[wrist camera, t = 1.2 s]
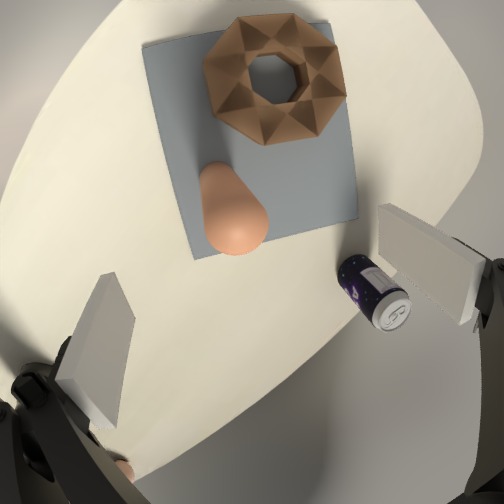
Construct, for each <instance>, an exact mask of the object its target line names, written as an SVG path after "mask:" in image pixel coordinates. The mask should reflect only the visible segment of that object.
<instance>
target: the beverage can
mask: <svg viewBox="0 0 504 504" xmlns="http://www.w3.org/2000/svg"><path fill="white" fill-rule="evenodd" d="M337 278H338V282H339V284H340V286H341V287H342V288H343V289H344V290H345V292H346V293H347V294H348V295H349V296H350V298H351V299H352V300H353V301H354V303H355V304H356V305H357V306H358V307H359V309H360V310H361V311H362V312H363V314H364V315H365V316H366V317H367V318H368V320H369V321H370V322H371V323H372V325H373V326H374V327H376V328H378V329H381V330H382V331H383V332H392V331H395V330H397V329H398V328H400V327H401V326H402V325H403V324H404V323H405V322H406V321H407V320H408V318H409V316H410V314H411V311H412V303H411V301H410V300H409V296H408V294H407V293H406V292H405V291H404V290H403V289H402V288H401V287H400V286H399V285H398V284H397V283H395V281H393V280H392V279H391V278H390V277H389V276H388V275H387V274H386V273H385V272H383V271H382V270H381V269H380V268H379V267H378V266H377V265H376V264H374V263H373V262H372V261H371V260H370V259H369V258H368V257H366V256H365V255H361V254H358V255H353V256H351V257H349V258H348V259H347V260H345V261H344V262H343V264H342V265H341V267H340V268H339V271H338V276H337Z"/></svg>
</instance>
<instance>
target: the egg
mask: <svg viewBox="0 0 504 504" xmlns="http://www.w3.org/2000/svg"><path fill="white" fill-rule="evenodd" d="M115 463H116V465H117V466H118V467H119V468H120V470H121V471H122V472H123V473H124V474H125V476H126V477H127V478H128V479H129V480H130V481H131V483H132V484H133V482H134V471H133V469H132V467H131V466H130V465H129V464H128V463H127V462H125V461H123V460H117V461H115Z"/></svg>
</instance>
